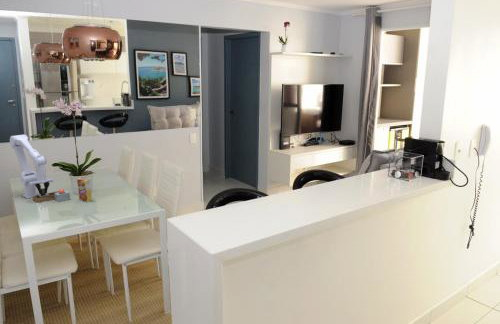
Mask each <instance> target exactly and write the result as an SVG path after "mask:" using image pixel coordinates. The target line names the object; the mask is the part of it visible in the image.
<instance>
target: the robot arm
mask: <svg viewBox="0 0 500 324" xmlns="http://www.w3.org/2000/svg"><path fill="white" fill-rule="evenodd" d="M9 144H10V146H11V148H12V150H14V153H15V155H16V158H17V160H18V163H19V166H20V168H21V171H22V172H21V173H20V175H19V177H20V178H19V179H20V183H21V185H23V195H22V196H23V197H24V198H25V199H33V196H36V195H38V194H41V189H42V186H41V184H43V187H44V188H45V192H46V193H48V189H49V187H50V183H53V182H54V178H47V172H46V164H47V159H46V156H43V155H42V154H40V153H39V152H38V150H37V149H35V148H33V147H32V145H31V143H30V142H29V137H28V135H27V134H18V135H17V134H16V135H10V138H9ZM24 149H25V150H26V152H27V155H28V156H29V157H30V158H31V160H32V164H33V166H34V169H35V171H34V170H32V169H31V167H30V164H29V161H28V158H27V157H26V154H25V151H24Z"/></svg>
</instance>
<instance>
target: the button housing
mask: <svg viewBox="0 0 500 324" xmlns="http://www.w3.org/2000/svg"><path fill="white" fill-rule="evenodd" d="M56 192H57V191H56ZM54 196H55V199H54V201H56V202H57V203H61V202H65V201H69V200H71V195H70V192H69V191H67V190H64V193H63V194H60V193H59V192H57V193H54Z"/></svg>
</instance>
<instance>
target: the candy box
mask: <svg viewBox="0 0 500 324" xmlns="http://www.w3.org/2000/svg"><path fill="white" fill-rule="evenodd" d="M76 183H77V192H78V193H77V194H78V200H79V201H83V202H88V203H89V202H92V201H93V197H92V185H91V179H88V178H85V177H84V178H83V177H80V178H77V179H76Z"/></svg>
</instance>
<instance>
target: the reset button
mask: <svg viewBox="0 0 500 324" xmlns="http://www.w3.org/2000/svg"><path fill="white" fill-rule="evenodd" d="M58 191H59V193H60V194H63V193H64V191H65V188H60V189H58Z"/></svg>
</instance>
